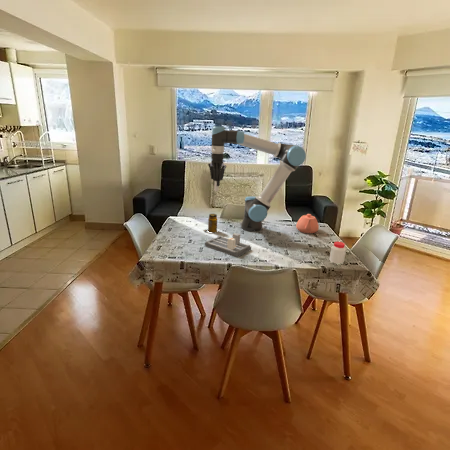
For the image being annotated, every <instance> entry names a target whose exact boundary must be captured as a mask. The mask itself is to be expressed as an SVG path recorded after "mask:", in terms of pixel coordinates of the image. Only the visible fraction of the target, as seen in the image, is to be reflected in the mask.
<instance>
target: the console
mask: <svg viewBox="0 0 450 450" xmlns="http://www.w3.org/2000/svg"><path fill="white" fill-rule="evenodd" d="M228 238H229V237H225V236H222V235H219V236H217V237H214V238H211V239H208V240H207V241H205V242H204V246H205V247H207V248H210V249H212V250H216V251H218V252H221V253H225V254H227V255H230V256H232V257H233V256H234V257H236V258H238V257H241V256H242V255H244V254H246V253H247V252H250V251H252V246H251V245H250V244H246V243H243V242H241V234H240V233H238V232H235V233H232V237H231V238H234V239H236V242H235V249H234V250H230V249H227V242H228Z"/></svg>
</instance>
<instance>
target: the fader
mask: <svg viewBox="0 0 450 450" xmlns="http://www.w3.org/2000/svg"><path fill="white" fill-rule="evenodd" d="M227 238H228V242H227V249H230V250H234V249H235V242H236V239H234V238H232V237H227Z"/></svg>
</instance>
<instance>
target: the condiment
mask: <svg viewBox="0 0 450 450" xmlns="http://www.w3.org/2000/svg"><path fill="white" fill-rule="evenodd" d="M217 216H218V215H217V214H216V213H209V215H208V220H207V223H208V224H207V225H208V227H207V229H204V230H203V232H205V231H207V230H208V231H209V232H213V233H212V234H215V233H214V232H217V231H218V217H217ZM217 233H220V231H218V232H217Z"/></svg>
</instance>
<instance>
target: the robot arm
mask: <svg viewBox="0 0 450 450" xmlns="http://www.w3.org/2000/svg"><path fill="white" fill-rule="evenodd" d="M225 144H232V145H233V144H236V145H240V146H242V147H246V148H249V149H253V150H256V151H260V152H262V153H265V154H269V155H273V156H274V158H277V159H279V165H278V167H277V168H276V169H275V171H274V173H273V174H272V176H271V177H270V179H269V180H268V182H267V183H266V185H265V186H264V188H263V189H262V191H261V192H260V194H259V195H258V196H252V195H251V196H246V197H245V200H244V212H243V213H244V214H243V219H242V221H241V224H240V225H241V226H240V228H241V230H243V231H245V232H246V231H248V232H260V231H262V230H263V223H262V222H263V221H264V220H265V219H266V218H267V216H268V211H269V210H270V208H271V206H272V205H271V203H272V201H273V200H274V198H275V197H276V195H277V194H278V192H279V191H280V189H281V187H282V186H283V185H284V184H285V182H286V181H287V179H288V178H289V176H290V174H291V173H292V172H295V171H296V170H297V169H298V168H299V166H301V165H303V164H304V163H305V161H306V157H307V155H306V151H305V149H304V148H303V147H302V146H300V145H297V144H296V145H294V144H288V143H282V142H278V143H276V142H273V141H269V140H267V139H263V138H260V137H256V136H253V135H250V134H247V133H245V132H244V131H242V130H234V129H231V130H228V129H227V130H226V129H225V127H224V126H215V125H214V126H213V127H212V129H211V157H210V159H211V162H210V163H208V167H209V174H210V179H211V180H213V186H214V187H213V188H214V190H213V192H219V191H220V190H219V188H220V184H221V183H220V182H221V181H223V179H224V175H225V170H226V168H227V165H225V164H224V158H225V157H224V155H225V154H224V152H225Z"/></svg>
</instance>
